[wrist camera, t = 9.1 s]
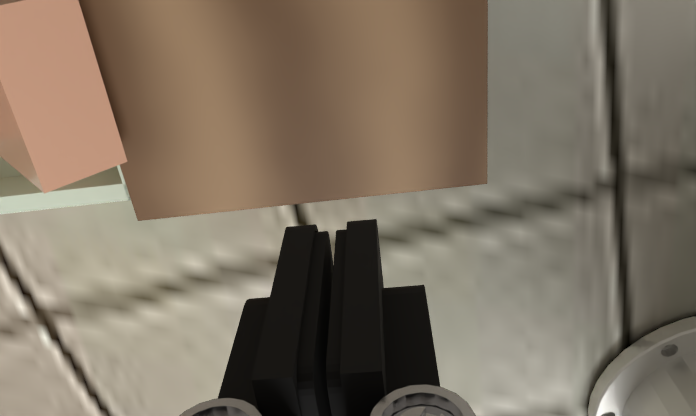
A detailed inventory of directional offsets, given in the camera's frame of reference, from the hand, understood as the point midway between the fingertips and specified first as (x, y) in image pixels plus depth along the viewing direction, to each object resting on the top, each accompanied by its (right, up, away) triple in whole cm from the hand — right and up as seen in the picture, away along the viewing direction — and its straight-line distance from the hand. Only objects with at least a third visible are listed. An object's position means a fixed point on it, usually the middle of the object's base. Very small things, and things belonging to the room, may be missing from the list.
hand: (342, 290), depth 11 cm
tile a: (-10, +7, +11) cm, 17 cm away
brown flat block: (-2, +8, +14) cm, 16 cm away
